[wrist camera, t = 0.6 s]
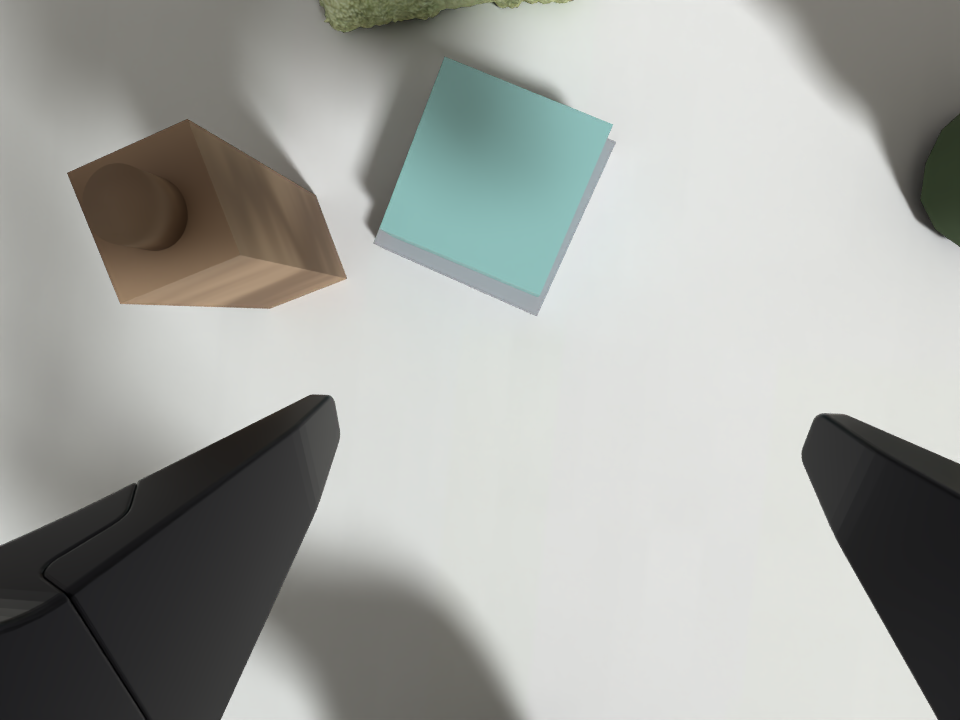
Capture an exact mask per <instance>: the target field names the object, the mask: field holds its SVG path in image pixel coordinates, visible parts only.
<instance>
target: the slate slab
mask: <svg viewBox="0 0 960 720" xmlns="http://www.w3.org/2000/svg"><path fill="white" fill-rule="evenodd" d="M615 143H616V142H615V141H613V140H610V139H608V138H607V140H606V142H605V145H604V147H603V149H602V152H601V154H600V156H599V159H598V161H597V163H596V166H595V168H594V170H593V173H592V175H591V177H590V180H589V182H588V184H587V187H586V189H585V191H584V194H583V196H582V198H581V201H580V203H579V205H578V208H577V210H576V212H575V215H574V217H573V219H572V222H571V224H570V226H569V229H568V231H567V233H566V236H565V238H564V240H563V243H562V245H561V247H560V250H559V252H558V254H557V257H556V259H555V261H554V264H553V266H552V268H551V271H550V273H549V275H548V278H547V280H546V282H545V285H544V287H543V289H542V292H541V294H540V296H539V297H536V296H533V295H531V294H528V293H526V292H524V291H521V290H519V289H516V288H514V287H512V286H509V285H507V284H504V283H502V282H500V281H497V280H495V279H492V278H490V277H488V276H485V275H483V274H480V273H478V272H476V271H473V270H471V269H469V268H466V267H464V266H461V265H459V264H457V263H454V262H452V261H449V260H447V259H445V258H442V257H440V256H437V255H435V254H433V253H430V252H428V251H425V250H423V249H421V248H418V247H416V246H413V245H411V244H409V243H406V242H404V241H401V240H399V239H397V238H394V237H392V236H390V235H389V234H387V233H386V232H384V231H383V230H381V229H380V228H379V230H378V233H377V235H376V238H375V240H374V244H376V245H378V246H380V247H382V248H384V249H386V250H388V251H391V252H393V253H395V254H397V255H400V256H402V257H404V258H406V259H409V260H411V261H413V262H415V263H418V264H420V265H422V266H424V267H427V268H429V269H431V270H433V271H436V272H438V273H440V274H442V275H445V276H447V277H449V278H451V279H454V280H456V281H458V282H460V283H463V284H465V285H467V286H469V287H472V288H474V289H476V290H479V291H481V292H483V293H485V294H488V295H490V296H492V297H494V298H497V299H499V300H501V301H503V302H506V303H508V304H510V305H512V306H515V307H517V308H519V309H521V310H524V311H526V312H528V313H530V314H533V315H535V316H537V315H538V312H539V310H540V308H541V306H542V304H543V301H544V299H545V297H546V295H547V293H548V290H549V288H550V286H551V284H552V282H553V279H554V277H555V275H556V273H557V271H558V268H559V266H560V264H561V262H562V260H563V257H564V255H565V253H566V251H567V249H568V246H569V244H570V242H571V240H572V238H573V235H574V233H575V231H576V229H577V227H578V224H579V222H580V220H581V218H582V216H583V213H584V211H585V209H586V207H587V205H588V202H589V200H590V198H591V196H592V194H593V191H594V189H595V187H596V185H597V183H598V180H599V178H600V176H601V174H602V172H603V169H604V167H605V165H606V163H607V161H608V158H609V156H610V154H611V152H612V150H613V147H614V145H615ZM380 226H381V225H380Z"/></svg>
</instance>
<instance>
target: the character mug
mask: <svg viewBox="0 0 960 720" xmlns="http://www.w3.org/2000/svg"><path fill="white" fill-rule="evenodd" d="M920 200H921V202H922V204H923V206H924V208H925V210H926V212H927V214H928V216H929V218H930V220H931V222H932V224H933V226H934V228H935V230H937V231H938V232H940V233H941V234H942V235H944V236H945V237H947V238H948V239H950V240H951V241H952V242H954V243H955V244H957V245H958V246H959V247H960V114H959V115H958V116H957V117H956V118H955V119H954V120H952V121H951V122H950V123H949V124H948V125H947V126H946V127H945V128H944V129H942V131H941V133H940V135H939V137H938V139H937V141H936V143H935V145H934V147H933V149H932V151H931V153H930V155H929V157H928V160H927V162H926V164H925V171H924V178H923V185H922V192H921V199H920Z"/></svg>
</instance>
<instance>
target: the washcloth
mask: <svg viewBox="0 0 960 720" xmlns="http://www.w3.org/2000/svg"><path fill="white" fill-rule="evenodd" d="M522 1H523V2H524V1H525V2H527V3H530V4H534V3H537V2H540V3H542V4H548V3H550V2H556V3H567V2H568V1H573V0H319V2H320V6H323V7H324V9H325V17H326V20H325V21H324V22H326V23H328V22H329V23H330V25H331V26H332V27H333V29H335V30H337V31H342V32H343V33H345V32H350V31H352V30H355V29H357V28H358V27H360V26H361V27H363V28H372V27H373V26H374V25H378V26H381V25H384V24H388V23H389V22H391V21H393V22H394V23H396V22H397V21H401V22H402V21H403V20H410V19H414V18H417V19H422V20H427V19H428V17H431V18H434V17H435V16H436V15H438V14H439V12H440V10H444V9H446V8H449V9H456V8H460V7H471V6H474V5H476V4H482V3H490V2H495V4H496V5H497V6H499V7H500V8H506V7H510V8H511V9H512V8H514V7H518V6H519V5H520V3H521V2H522Z"/></svg>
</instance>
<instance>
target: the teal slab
mask: <svg viewBox="0 0 960 720" xmlns="http://www.w3.org/2000/svg"><path fill="white" fill-rule="evenodd" d="M612 126H613V124H610V123H608V122H605V121H603V120H600V119H598V118H595V117H593V116H590V115H588V114H586V113H583V112H581V111H578V110H576V109H573V108H571V107H568V106H566V105H563V104H561V103H558V102H556V101H553V100H551V99H548V98H546V97H543V96H541V95H538V94H536V93H534V92H531V91H529V90H526V89H524V88H521V87H519V86H516V85H514V84H511V83H509V82H506V81H504V80H501V79H499V78H496V77H494V76H491V75H489V74H486V73H484V72H481V71H479V70H477V69H474V68H472V67H469V66H467V65H464V64H462V63H459V62H457V61H454V60H452V59H449V58H447V57H444V60H443V62H442V65H441V68H440V70H439V73H438V76H437V78H436V81H435V84H434V86H433V89H432V91H431V94H430V97H429V99H428V102H427V105H426V107H425V110H424V113H423V115H422V118H421V120H420V123H419V126H418V128H417V131H416V134H415V136H414V139H413V141H412V144H411V147H410V149H409V152H408V155H407V157H406V160H405V163H404V165H403V168H402V170H401V173H400V176H399V178H398V181H397V184H396V186H395V189H394V192H393V194H392V197H391V199H390V202H389V205H388V207H387V210H386V213H385V215H384V218H383V220H382V223H381V226H380V229H381V230H383V231H384V232H386V233H387V234H389V235H390V236H392V237H394V238H397V239H399V240H401V241H404V242H406V243H409V244H411V245H413V246H416V247H418V248H421V249H423V250H425V251H428V252H430V253H433V254H435V255H437V256H440V257H442V258H445V259H447V260H449V261H452V262H454V263H457V264H459V265H461V266H464V267H466V268H469V269H471V270H473V271H476V272H478V273H480V274H483V275H485V276H488V277H490V278H492V279H495V280H497V281H500V282H502V283H504V284H507V285H509V286H512V287H514V288H516V289H519V290H521V291H524V292H526V293H528V294H531V295H533V296H536V297H539V296H540V294H541V292H542V289H543V287H544V285H545V282H546V280H547V278H548V275H549V273H550V271H551V268H552V266H553V264H554V261H555V259H556V257H557V254H558V252H559V250H560V247H561V245H562V243H563V240H564V238H565V236H566V233H567V231H568V229H569V226H570V224H571V222H572V219H573V217H574V215H575V212H576V210H577V208H578V205H579V203H580V201H581V198H582V196H583V194H584V191H585V189H586V187H587V184H588V182H589V180H590V177H591V175H592V173H593V170H594V168H595V166H596V163H597V161H598V159H599V156H600V154H601V152H602V149H603V147H604V145H605V142H606V140H607V138H608V135H609V133H610V131H611V128H612Z"/></svg>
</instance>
